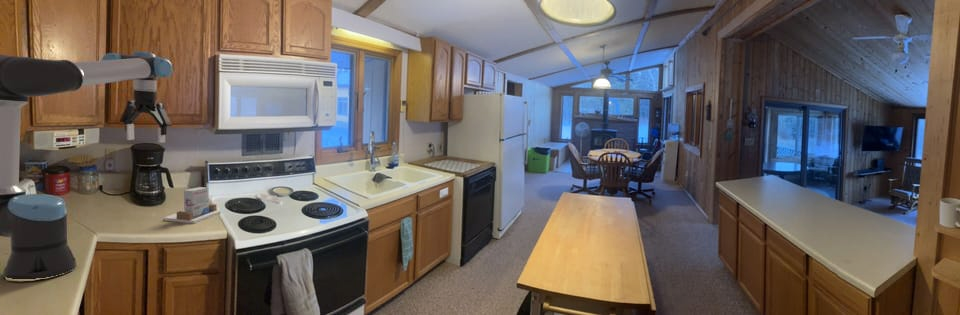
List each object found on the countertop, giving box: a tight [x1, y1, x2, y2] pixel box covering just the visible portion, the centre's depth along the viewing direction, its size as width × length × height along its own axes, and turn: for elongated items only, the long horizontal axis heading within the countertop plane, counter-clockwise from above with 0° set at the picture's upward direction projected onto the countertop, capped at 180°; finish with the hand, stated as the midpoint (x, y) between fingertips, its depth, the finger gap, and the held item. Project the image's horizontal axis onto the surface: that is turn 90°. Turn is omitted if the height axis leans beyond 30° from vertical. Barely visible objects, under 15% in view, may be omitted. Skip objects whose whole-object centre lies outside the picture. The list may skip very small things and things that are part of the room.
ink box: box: [183, 186, 210, 217], centre depth 188 cm, size 9×5×12 cm, turn 168°
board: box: [162, 203, 221, 224], centre depth 188 cm, size 17×14×4 cm
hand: (146, 141), depth 174 cm, fingers open, 13 cm apart
